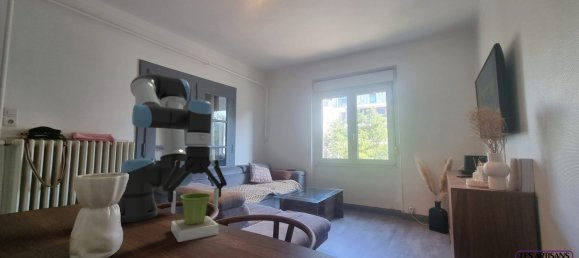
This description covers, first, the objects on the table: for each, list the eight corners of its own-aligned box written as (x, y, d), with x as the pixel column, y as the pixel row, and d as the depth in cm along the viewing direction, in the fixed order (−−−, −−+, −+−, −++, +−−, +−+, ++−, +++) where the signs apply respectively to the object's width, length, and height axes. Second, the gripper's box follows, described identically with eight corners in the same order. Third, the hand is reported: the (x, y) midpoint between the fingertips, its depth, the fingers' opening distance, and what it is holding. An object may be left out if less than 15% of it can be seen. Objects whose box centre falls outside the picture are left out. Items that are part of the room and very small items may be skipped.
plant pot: (215, 219, 82) (216, 193, 83) (197, 228, 73) (198, 199, 74) (192, 216, 84) (193, 192, 85) (172, 225, 75) (173, 197, 76)
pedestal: (171, 230, 80) (171, 220, 80) (207, 224, 87) (207, 215, 87) (178, 242, 70) (178, 230, 70) (218, 234, 77) (218, 223, 77)
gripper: (158, 145, 71) (153, 218, 69) (237, 146, 85) (235, 207, 83) (155, 145, 77) (151, 212, 75) (229, 146, 91) (227, 203, 89)
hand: (195, 209), depth 79 cm, fingers open, 13 cm apart
